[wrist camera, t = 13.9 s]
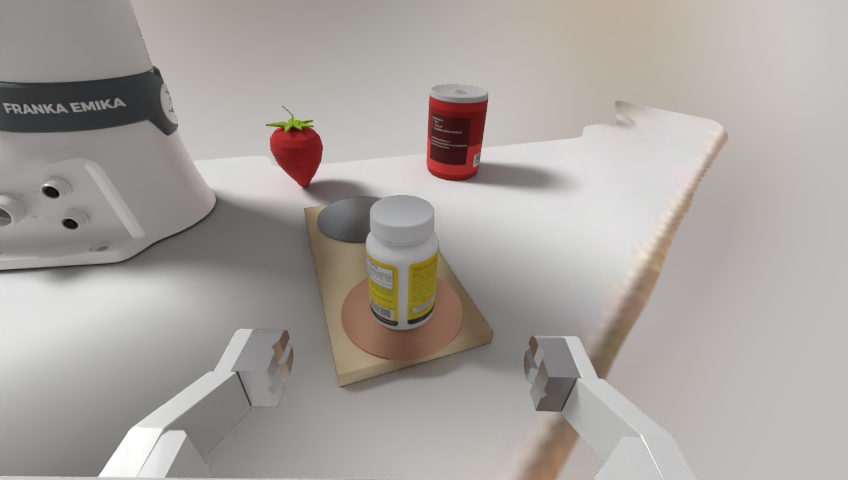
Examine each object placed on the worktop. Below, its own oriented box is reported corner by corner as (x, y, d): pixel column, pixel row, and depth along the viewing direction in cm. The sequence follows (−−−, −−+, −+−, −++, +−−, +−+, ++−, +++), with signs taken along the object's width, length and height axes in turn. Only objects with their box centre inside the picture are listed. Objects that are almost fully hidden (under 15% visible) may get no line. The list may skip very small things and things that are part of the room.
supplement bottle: (432, 287, 29) (439, 192, 24) (436, 332, 25) (444, 230, 20) (372, 286, 28) (367, 191, 24) (366, 332, 25) (359, 229, 20)
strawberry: (285, 204, 42) (267, 117, 36) (274, 179, 47) (257, 100, 42) (334, 194, 44) (325, 112, 39) (318, 172, 50) (308, 96, 44)
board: (340, 393, 22) (338, 379, 22) (305, 215, 40) (303, 203, 39) (494, 347, 26) (497, 333, 25) (399, 202, 43) (399, 191, 43)
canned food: (466, 158, 57) (475, 83, 50) (486, 179, 50) (499, 96, 44) (420, 161, 55) (422, 84, 49) (434, 183, 48) (440, 98, 42)
